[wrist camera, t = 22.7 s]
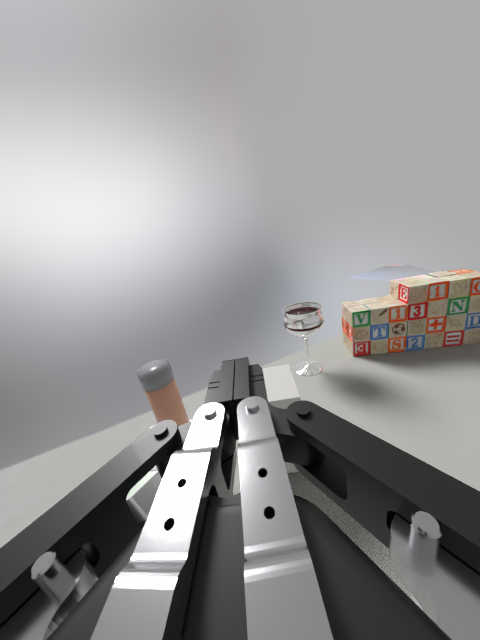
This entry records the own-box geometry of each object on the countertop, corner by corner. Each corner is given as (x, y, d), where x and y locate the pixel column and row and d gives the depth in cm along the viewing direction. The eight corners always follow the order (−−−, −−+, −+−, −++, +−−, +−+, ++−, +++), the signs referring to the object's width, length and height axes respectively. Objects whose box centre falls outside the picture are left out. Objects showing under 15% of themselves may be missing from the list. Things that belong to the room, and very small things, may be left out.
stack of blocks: (352, 357, 43) (350, 296, 39) (342, 343, 49) (339, 287, 45) (483, 343, 40) (495, 273, 36) (456, 328, 45) (463, 267, 41)
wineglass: (328, 358, 45) (323, 300, 41) (327, 379, 39) (321, 314, 35) (293, 358, 47) (285, 303, 43) (287, 377, 42) (278, 316, 38)
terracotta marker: (165, 458, 30) (131, 379, 26) (173, 435, 33) (144, 362, 29) (193, 454, 30) (163, 373, 25) (198, 431, 33) (173, 356, 29)
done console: (256, 477, 26) (238, 406, 22) (254, 434, 31) (239, 372, 28) (310, 470, 25) (299, 396, 22) (298, 427, 31) (288, 364, 28)
